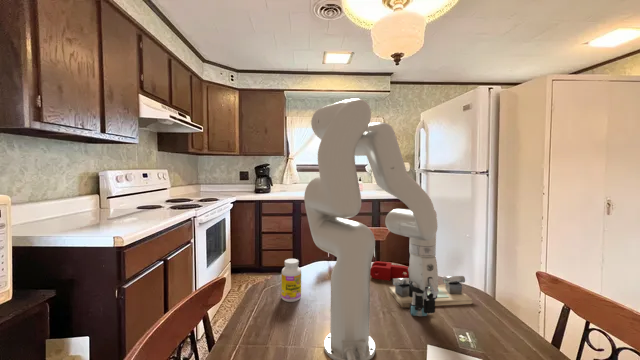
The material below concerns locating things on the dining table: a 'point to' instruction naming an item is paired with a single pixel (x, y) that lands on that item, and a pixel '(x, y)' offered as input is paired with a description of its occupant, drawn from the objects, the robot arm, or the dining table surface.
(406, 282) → the cylinder and cube
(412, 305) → the push button
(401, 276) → the mechanical linkage
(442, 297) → the board
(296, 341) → the dining table surface
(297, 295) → the supplement bottle
